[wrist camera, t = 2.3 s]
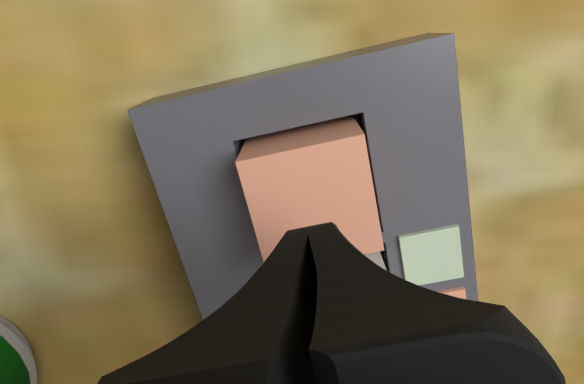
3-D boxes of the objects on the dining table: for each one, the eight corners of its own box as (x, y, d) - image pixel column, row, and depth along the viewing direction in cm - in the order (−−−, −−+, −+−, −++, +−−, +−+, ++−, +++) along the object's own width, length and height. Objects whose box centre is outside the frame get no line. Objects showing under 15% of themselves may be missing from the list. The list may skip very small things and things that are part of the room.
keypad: (468, 398, 24) (492, 449, 21) (264, 430, 25) (260, 483, 22) (429, 32, 18) (456, 33, 15) (152, 98, 19) (124, 110, 16)
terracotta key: (369, 212, 19) (384, 250, 16) (271, 231, 19) (266, 272, 16) (352, 114, 17) (364, 134, 14) (246, 138, 18) (235, 162, 14)
